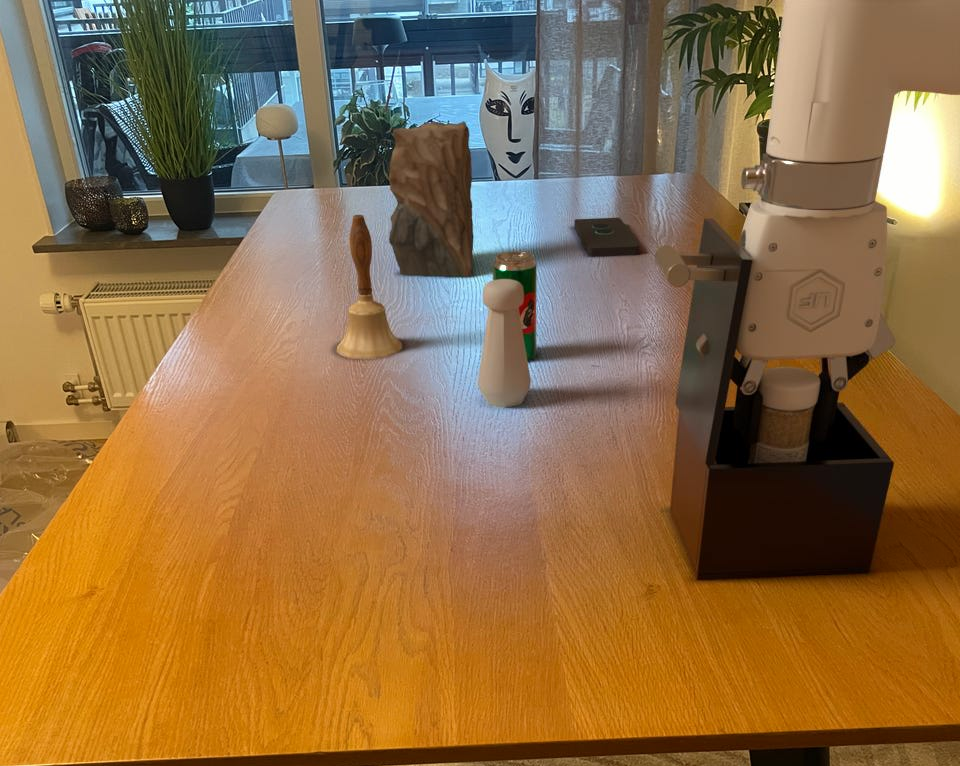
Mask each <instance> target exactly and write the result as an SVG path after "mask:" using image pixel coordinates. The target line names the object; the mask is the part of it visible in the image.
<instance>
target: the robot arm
mask: <svg viewBox="0 0 960 766" xmlns="http://www.w3.org/2000/svg"><path fill="white" fill-rule="evenodd" d="M779 34H780V35H779V40H778V41H779V42H778V49H777V58H776V66H775V74H774V75H775V76H774V83H773V91H772V98H771V107H770V114H769V115H770V116H769V124H768V132H767V141H766V146H765V147H766V149H765V150H766V151H765V153H762V158H761V160H760V162H759V164H755V165H754V166H753V167H752V166H751V167H743V169H742V172H741V180H740V182H741V184H740V185H741V188H742V190H752V191H753V192H757V195H758V196H759V197H760V198H759V200H756V201H753V202H751V203H750V205H749V208H748V210H747V215H746V217H745V220H744V224H743V227H742V231H741V234H740V238H739V242H738V245H739V246H740V247H741V248H742V249H743V250H744V251H745V252H746V253H747V255H748V256H749V257H750V258H751V259H752V260H753V261H752V266H751V272H750V277H749V282H748V288H747V293H746V298H745V304H744V309H743V314H742V320H741V325H740V330H739V336H738V341H737V346H736V352H738V354H739V357H738V358H737V357H736V356H735V357H734V362H733V368H732V373H731V378H730V381H731V382H732V383H733V384H735V385H736V393H735V402H734V407H735V409H734V417H733V424H734V427H735V429H736V430H739V432H740V434H741V435H742V437H743V439H744V441H745V442H746V444H754V443H755V442H757V438H758V431H759V424H760V417H761V410H762V402H763V396H762V394H761V393H760V391H759V383H760V380H761V378H762V375H763V373H764V371H765V370H766V368H767V365H768V362H769V361H774V360H779V361H780V360H801V359H818V362H819V371H820V372H819V374H818V377H819V378H820V389H819V396H818V401H817V403H816V405H815V408H814V410H813V416H812V422H811V429H810V434H811V435H812V437H813V438H814V439H815V440H817V442H820V441H825V440H826V436H827V430H828V426H832V425H833V424H834V419H835V414H836V408H837V403H839V398H840V392H842V391H844V390H845V389H846V388H847V387H848V385H849V381H850V380H852V379H853V378H854V377H855V376H856V375H857V374H859V373H860V372H861V371H862V370H863V369H864V368H866V367H867V366H868V365H869V362H871V360H875V359H877V358H878V357H879V356H881V355H883V354H884V353H885V352H887V351H888V350H890V349H891V348H892V347H894V345H895V343H896V337H895V336H894V335H893V333H892V331H891V329H890V327H889V325H888V324H887V322H886V320H885V318H884V317H883V314H882V313H881V311H882V304H883V295H884V287H885V278H886V277H885V276H886V264H887V250H888V249H887V247H888V246H887V245H888V210H887V209H888V207H887V206H886V205H884V204H883V203H880V202H878V201H876V200H877V199H876V198H877V193H878V188H879V183H880V177H881V171H882V167H883V161H884V154H885V151H886V144H887V140H888V133H889V128H890V123H891V117H892V112H893V107H894V102H895V96H896V95H897V94H899V93H901V92H920V93H930V94H938V95H939V94H942V95H946V96H947V95H949V96H950V95H951V96H960V0H784V3H783V9H782V17H781V26H780V33H779ZM706 342H707V338H706V336H705V334H704V333H703V334H702V336H701V337H700V338H699V339H698V341H697V342H696V347H697V349H698V350H699V352H700V353H701V355H703V356H704V353H705V348H706Z"/></svg>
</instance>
